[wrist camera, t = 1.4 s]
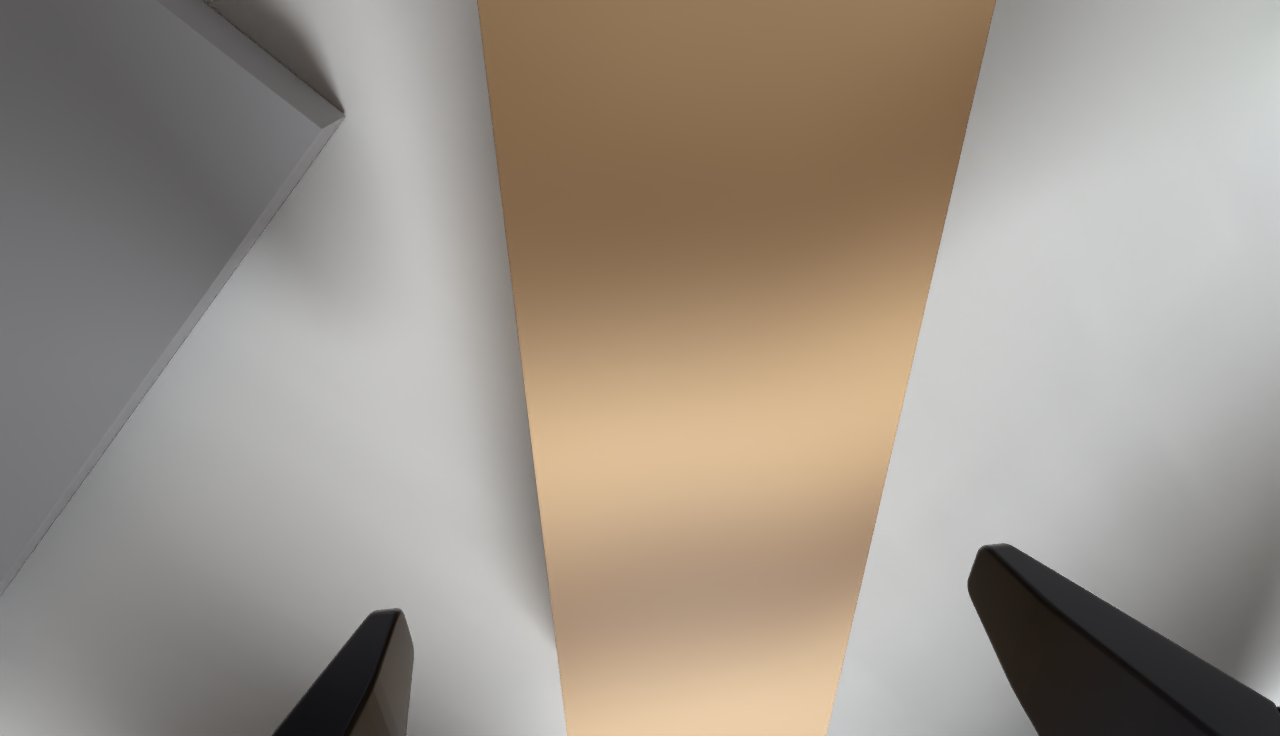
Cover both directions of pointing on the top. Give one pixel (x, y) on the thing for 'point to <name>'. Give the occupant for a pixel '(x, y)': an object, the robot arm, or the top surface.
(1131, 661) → the robot arm
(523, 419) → the top surface
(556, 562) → the wooden block
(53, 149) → the peg stand
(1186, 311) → the top surface
